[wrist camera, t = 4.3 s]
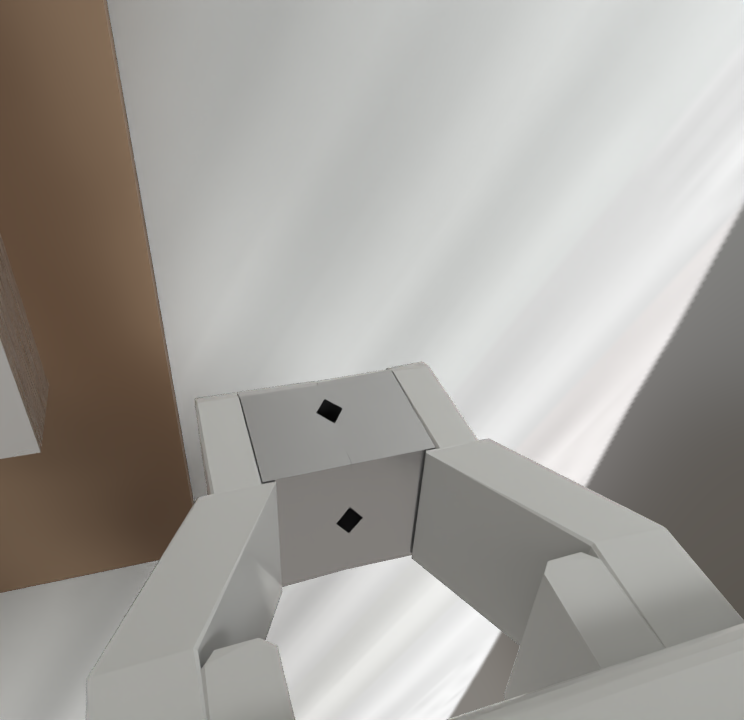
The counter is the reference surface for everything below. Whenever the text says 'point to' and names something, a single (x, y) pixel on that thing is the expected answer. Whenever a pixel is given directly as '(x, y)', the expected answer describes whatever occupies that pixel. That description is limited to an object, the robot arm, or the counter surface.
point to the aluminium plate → (18, 373)
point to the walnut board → (82, 308)
